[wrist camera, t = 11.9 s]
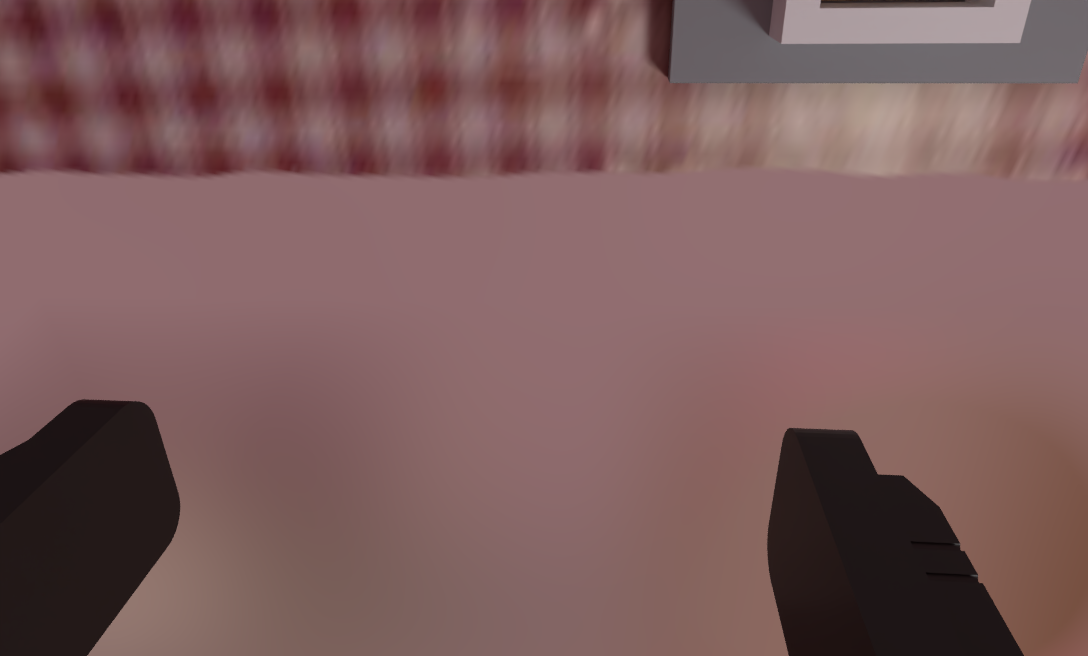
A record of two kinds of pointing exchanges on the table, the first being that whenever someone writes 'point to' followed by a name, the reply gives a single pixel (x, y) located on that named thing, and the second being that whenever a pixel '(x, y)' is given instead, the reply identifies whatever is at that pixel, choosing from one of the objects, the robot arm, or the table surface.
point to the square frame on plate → (878, 41)
